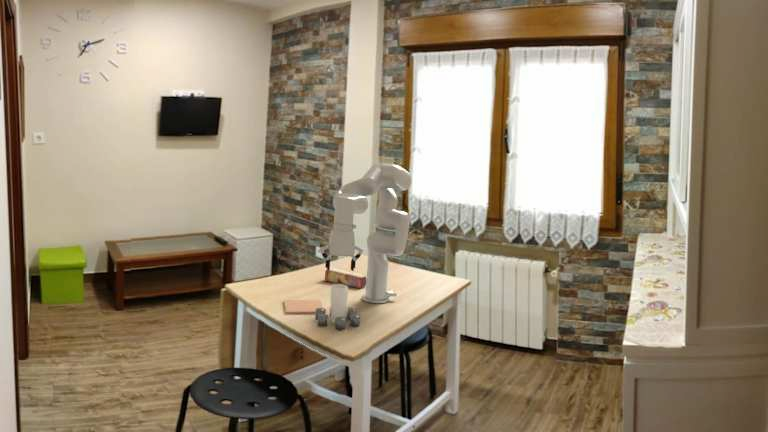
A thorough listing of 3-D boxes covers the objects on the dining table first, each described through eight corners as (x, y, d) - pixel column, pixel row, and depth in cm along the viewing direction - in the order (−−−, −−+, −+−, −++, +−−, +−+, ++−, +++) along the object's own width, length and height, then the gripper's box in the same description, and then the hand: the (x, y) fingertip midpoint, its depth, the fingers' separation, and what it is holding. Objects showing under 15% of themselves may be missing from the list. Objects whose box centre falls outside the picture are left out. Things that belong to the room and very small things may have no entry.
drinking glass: (329, 324, 240) (332, 288, 237) (328, 319, 246) (330, 283, 244) (346, 324, 241) (349, 288, 239) (344, 319, 247) (346, 283, 245)
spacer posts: (354, 314, 255) (354, 305, 254) (362, 330, 236) (362, 320, 236) (313, 314, 251) (314, 305, 250) (319, 330, 233) (319, 320, 232)
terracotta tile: (320, 302, 268) (320, 299, 267) (324, 313, 252) (324, 311, 252) (283, 302, 264) (283, 299, 264) (285, 314, 249) (286, 311, 248)
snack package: (366, 286, 298) (367, 273, 297) (360, 289, 292) (361, 276, 291) (330, 279, 307) (331, 266, 306) (323, 281, 301) (324, 268, 300)
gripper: (362, 226, 243) (359, 268, 245) (320, 224, 239) (317, 266, 241) (366, 230, 236) (363, 272, 238) (322, 228, 232) (319, 271, 234)
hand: (340, 269), depth 240 cm, fingers open, 9 cm apart
